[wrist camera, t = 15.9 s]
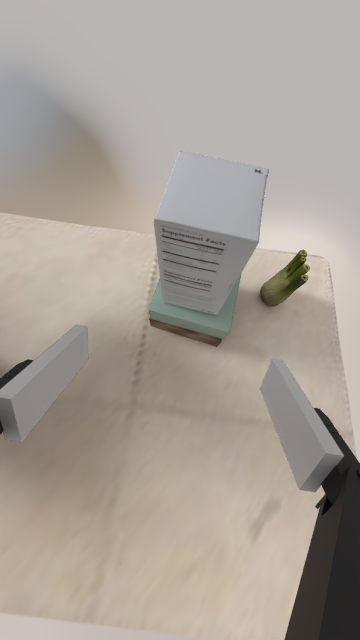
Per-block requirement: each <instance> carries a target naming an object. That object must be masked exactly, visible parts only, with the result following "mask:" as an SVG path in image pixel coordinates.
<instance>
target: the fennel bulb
mask: <svg viewBox="0 0 360 640" xmlns="http://www.w3.org/2000/svg"><path fill="white" fill-rule="evenodd" d="M306 256H307V253H306V251H305V250H301V251H299V253H298V254H297V255H296V256H295V257H294V258H293V260H292V261H291V262H290V263H289V264H288V265H287V266H286V267H285V268H284V269H282V270H281V271H279V272H278V273H277V274H276V275H275V276H273V277H272V278H271V279H270V280H269V281H267V282H266V283H264V284H263V286H262V287H261V291H260V294H261V298H262V300H263V302H264V303H265V304H266V305H268V306H276V305H278V304H280V303H282V302H283V301H284V300H286V299H287V298H288V297H289V296H290V295H291V294H292V293H293V292H294V291H295V290H296V289H297V288H299V287H300V286H301V285H303V284H304V283H305V282H306V281H307V280H308V276H307V275H304V274H306V273H307V272H308V271H309V270H310V267H309V266H308V265H305V264H304V263H305V261H306V258H305V257H306Z"/></svg>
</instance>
